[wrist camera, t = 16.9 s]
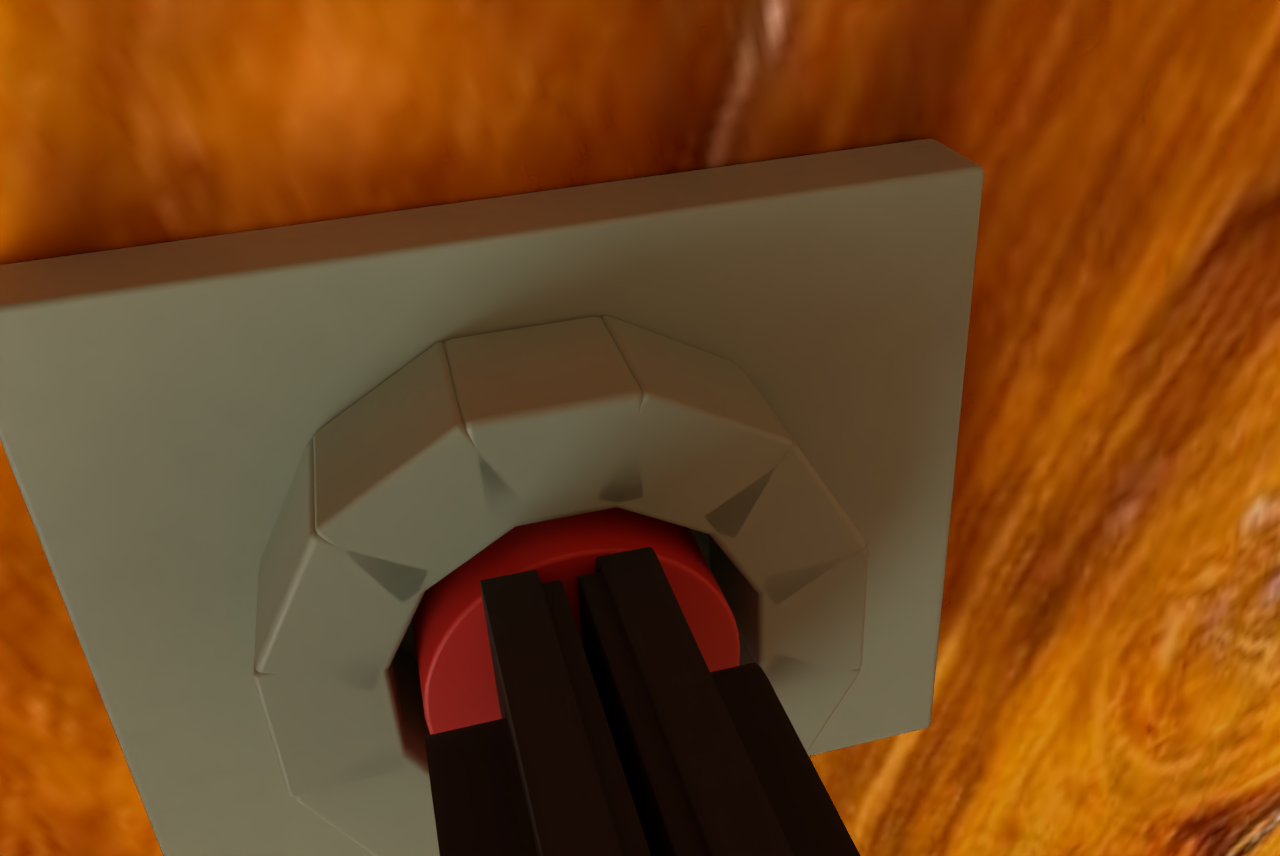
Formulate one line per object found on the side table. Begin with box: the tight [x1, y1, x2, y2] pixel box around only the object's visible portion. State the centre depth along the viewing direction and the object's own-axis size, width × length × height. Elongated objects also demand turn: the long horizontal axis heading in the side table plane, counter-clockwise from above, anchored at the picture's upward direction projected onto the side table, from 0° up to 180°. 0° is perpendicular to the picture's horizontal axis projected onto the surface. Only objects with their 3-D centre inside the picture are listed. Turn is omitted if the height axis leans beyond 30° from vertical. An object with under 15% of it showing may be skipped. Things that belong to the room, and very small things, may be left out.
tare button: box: [412, 507, 740, 734], centre depth 12 cm, size 3×3×2 cm
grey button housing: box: [0, 138, 984, 856], centre depth 13 cm, size 10×8×3 cm
